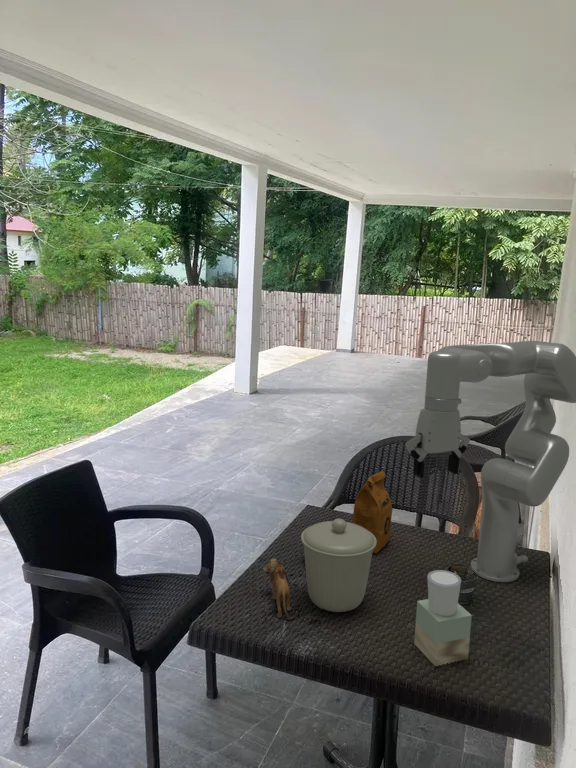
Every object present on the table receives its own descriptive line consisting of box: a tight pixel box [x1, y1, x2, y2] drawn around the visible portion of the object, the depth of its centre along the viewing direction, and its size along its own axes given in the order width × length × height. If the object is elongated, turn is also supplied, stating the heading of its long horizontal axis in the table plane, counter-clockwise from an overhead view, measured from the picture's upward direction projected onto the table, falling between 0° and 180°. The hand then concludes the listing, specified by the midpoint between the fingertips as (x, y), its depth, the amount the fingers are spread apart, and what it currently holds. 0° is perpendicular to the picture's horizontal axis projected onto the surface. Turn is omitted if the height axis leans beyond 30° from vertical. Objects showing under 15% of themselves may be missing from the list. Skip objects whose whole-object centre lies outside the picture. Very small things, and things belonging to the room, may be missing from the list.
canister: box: [300, 518, 377, 613], centre depth 139 cm, size 18×18×21 cm
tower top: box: [415, 598, 473, 644], centre depth 122 cm, size 8×8×5 cm
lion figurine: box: [262, 558, 292, 620], centre depth 138 cm, size 15×5×9 cm, turn 20°
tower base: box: [413, 622, 471, 667], centre depth 122 cm, size 8×8×5 cm
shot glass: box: [426, 569, 462, 616], centre depth 120 cm, size 7×7×7 cm
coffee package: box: [352, 470, 393, 554], centre depth 169 cm, size 10×12×22 cm
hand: (435, 474), depth 138 cm, fingers open, 9 cm apart
